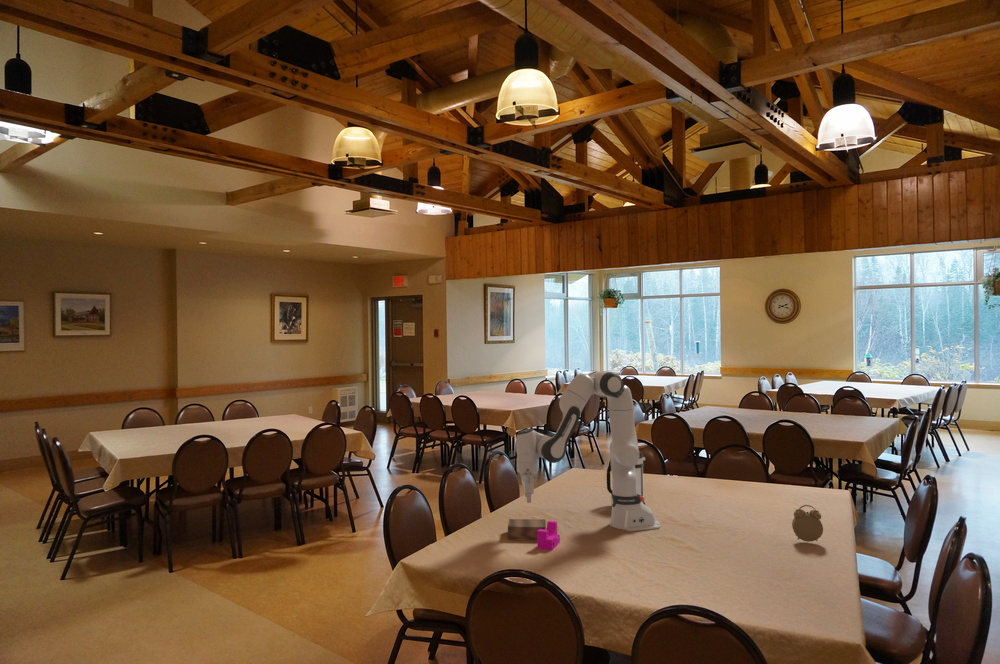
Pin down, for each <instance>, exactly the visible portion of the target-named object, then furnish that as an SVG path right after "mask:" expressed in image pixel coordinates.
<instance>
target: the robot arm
mask: <svg viewBox="0 0 1000 664" xmlns="http://www.w3.org/2000/svg"><path fill="white" fill-rule="evenodd" d="M592 395H597V396H601V397H606V399H607V401H608V413H609V415H608V416H609V427H610V432H611V438H612V439H611V442H610V443H609V460H610V464H611V471H610V472H611V481H612V482H611V483H612V484H611V485H612V487H611V490H612V494H611V495H610V496H611V497H610V503H611V506H612V507H611V512H610V513H611V515H610V520H609V526H610V527H612V528H615V529H619V530H623V531H626V532H637V531H646V530H647V531H649V530H658V529H660V528H661V523H660V522H659V521H658V520H657V519H656V518H655V517H656V516H655V515H654V512H653V511H652V508H650V507H649V506H647V505H646V504H645V505H644V504H643V502H641V501H644V502H645V497H644V495H643V496H641V495H639V494H637V476H636V471H635V464H636V463H637V462H638V460H639V451H640V450H639V443H638V437H637V432H636V431H637V430H636V425H635V409H634V402H633V401H634V400H633V396H632V395H633V394H632V390H631V389H630V387H629V386H627V385H625V384H624V381H623V379H622V377H621V375H619V374H618V373H616V372H613V371H607V370H601V371H597V370H596V371H592V372H590V373H588V374H586V373H578V374H577V375H575V377H574V378H573V379H572V380H571V381H570V382H569V383H568V385H567V386H566V387H565V389H564V391H563V392H562V395H561V396H560V398H559V402H558V405H559V409H560V411H561V412H562V420H561V421H560V423H559V426H558V428H557V430H556V431H555V434H554V435H553V436H549V435H546V434H543V433H540V432H537V431H536V430H534V428H525V429H521V430H520V431H518V433H517V434H516V438H515V440H516V441H515V451H516V473H519V476H520V479H521V485H522V488H523V490H524V491H523V492H524V496H525V498H526V503H527V504H531V503H532V495H533V494H534V492H535V491H534V489H535V488H534V476H535V474H536V473H537V472H538V458H542V459H543V460H545V461H547V462H548V463H552V464H556V463H559V462H561V461H562V460H563V459H564V458H565V455H566V453H567V447H568V444H569V441H570V439H571V437H572V435H573V433H574V431H575V428H576V426H577V425H578V423H579V421H580V418H581V414H582V412H583V410H584V408H585V406H586V404H588V401H589V399H590V397H591V396H592Z"/></svg>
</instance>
